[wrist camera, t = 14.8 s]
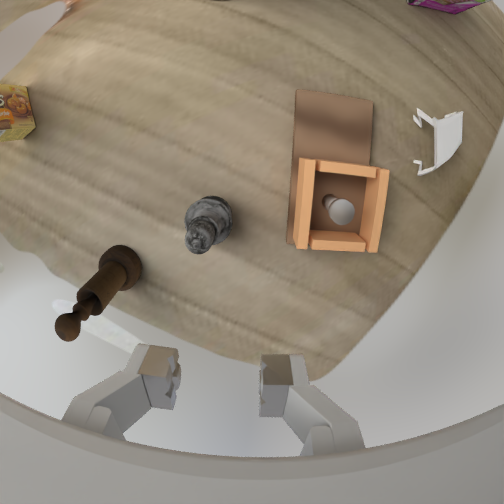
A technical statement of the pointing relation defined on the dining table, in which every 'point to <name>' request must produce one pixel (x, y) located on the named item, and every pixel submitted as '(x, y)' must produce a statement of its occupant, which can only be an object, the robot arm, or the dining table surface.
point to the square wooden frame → (370, 216)
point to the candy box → (15, 113)
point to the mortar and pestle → (100, 289)
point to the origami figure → (442, 137)
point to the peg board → (331, 158)
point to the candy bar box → (447, 4)
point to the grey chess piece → (207, 224)
